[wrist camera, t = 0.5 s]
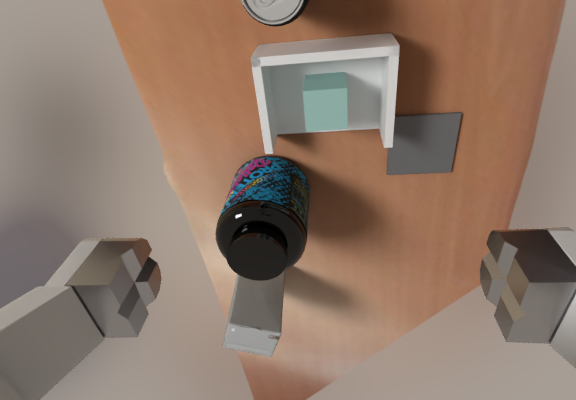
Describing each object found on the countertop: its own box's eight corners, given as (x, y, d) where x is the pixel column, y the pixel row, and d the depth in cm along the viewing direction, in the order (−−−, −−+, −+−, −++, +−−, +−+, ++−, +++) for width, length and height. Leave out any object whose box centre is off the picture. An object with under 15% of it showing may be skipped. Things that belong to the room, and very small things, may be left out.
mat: (390, 116, 49) (390, 117, 49) (460, 112, 48) (461, 113, 48) (386, 173, 55) (387, 174, 54) (450, 170, 54) (450, 172, 53)
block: (305, 74, 47) (302, 91, 42) (344, 71, 46) (347, 88, 41) (307, 112, 50) (305, 131, 45) (345, 109, 49) (347, 129, 44)
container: (318, 207, 59) (317, 284, 46) (251, 222, 62) (231, 298, 49) (295, 143, 53) (286, 212, 40) (222, 163, 56) (190, 233, 43)
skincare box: (237, 274, 70) (217, 350, 58) (244, 248, 66) (225, 324, 53) (280, 284, 71) (270, 362, 58) (289, 260, 67) (281, 337, 54)
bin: (258, 44, 45) (250, 58, 41) (391, 32, 44) (399, 45, 39) (270, 133, 52) (265, 153, 48) (386, 126, 50) (392, 147, 46)
